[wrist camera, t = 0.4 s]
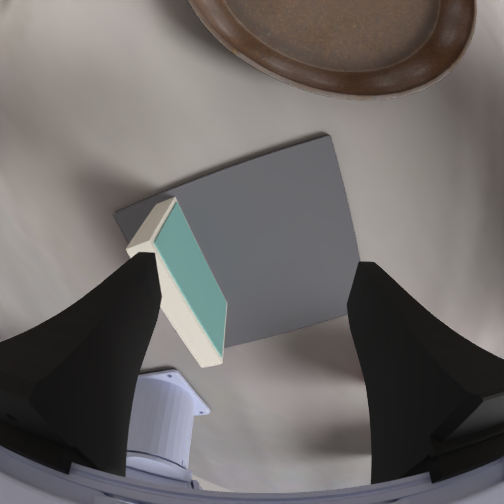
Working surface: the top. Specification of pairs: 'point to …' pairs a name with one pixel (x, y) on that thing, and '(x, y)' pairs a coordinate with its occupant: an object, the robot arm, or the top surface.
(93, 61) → the top surface
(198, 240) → the mat
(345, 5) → the plant saucer
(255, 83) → the top surface
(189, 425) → the robot arm
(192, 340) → the slab
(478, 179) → the top surface
